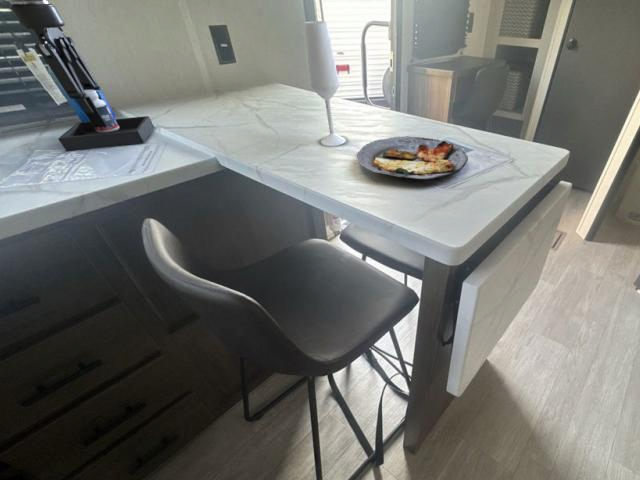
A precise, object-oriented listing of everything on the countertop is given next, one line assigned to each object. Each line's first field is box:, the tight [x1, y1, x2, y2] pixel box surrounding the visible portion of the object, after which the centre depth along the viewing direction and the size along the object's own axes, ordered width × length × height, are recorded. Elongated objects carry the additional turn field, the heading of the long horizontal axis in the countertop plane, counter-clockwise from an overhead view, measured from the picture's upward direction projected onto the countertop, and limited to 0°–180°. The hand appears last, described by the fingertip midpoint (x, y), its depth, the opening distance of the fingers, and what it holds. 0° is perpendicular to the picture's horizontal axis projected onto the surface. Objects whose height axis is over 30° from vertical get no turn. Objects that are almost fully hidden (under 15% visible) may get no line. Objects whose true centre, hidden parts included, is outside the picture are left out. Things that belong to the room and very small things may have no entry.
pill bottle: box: [84, 90, 119, 133], centre depth 81 cm, size 5×5×9 cm
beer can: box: [47, 64, 117, 122], centre depth 88 cm, size 8×8×16 cm
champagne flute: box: [304, 20, 347, 147], centre depth 75 cm, size 7×7×24 cm
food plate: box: [356, 135, 469, 180], centre depth 72 cm, size 25×23×4 cm
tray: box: [57, 115, 156, 152], centre depth 85 cm, size 18×14×3 cm
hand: (104, 122), depth 83 cm, fingers closed on pill bottle, 5 cm apart
